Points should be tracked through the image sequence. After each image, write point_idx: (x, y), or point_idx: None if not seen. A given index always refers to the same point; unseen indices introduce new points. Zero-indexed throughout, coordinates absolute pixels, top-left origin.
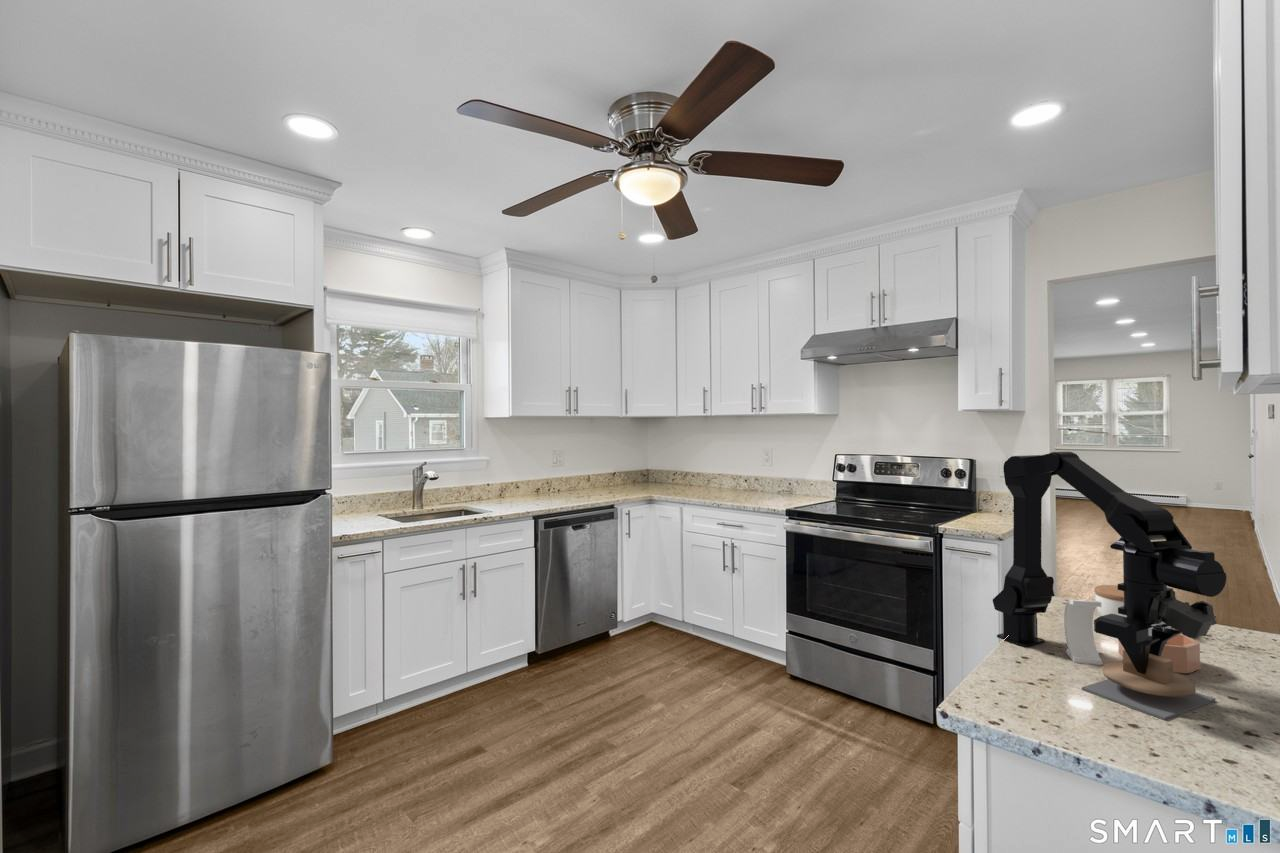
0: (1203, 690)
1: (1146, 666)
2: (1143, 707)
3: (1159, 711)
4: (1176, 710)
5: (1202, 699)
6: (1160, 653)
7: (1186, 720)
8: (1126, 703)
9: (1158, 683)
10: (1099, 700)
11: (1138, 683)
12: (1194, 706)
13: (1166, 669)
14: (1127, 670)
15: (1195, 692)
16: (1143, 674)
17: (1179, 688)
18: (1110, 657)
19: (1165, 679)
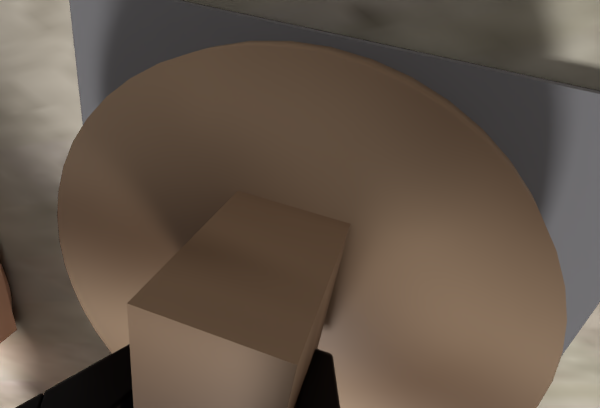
0: (2, 64)
1: (317, 398)
2: (587, 243)
3: (596, 165)
4: (484, 92)
5: (148, 26)
6: (72, 394)
7: (591, 9)
8: (588, 314)
9: (364, 256)
10: (590, 397)
11: (479, 350)
12: (306, 29)
13: (284, 290)
14: None
15: (82, 80)
16: (316, 347)
17: (350, 132)
18: (32, 365)
19: (327, 241)
